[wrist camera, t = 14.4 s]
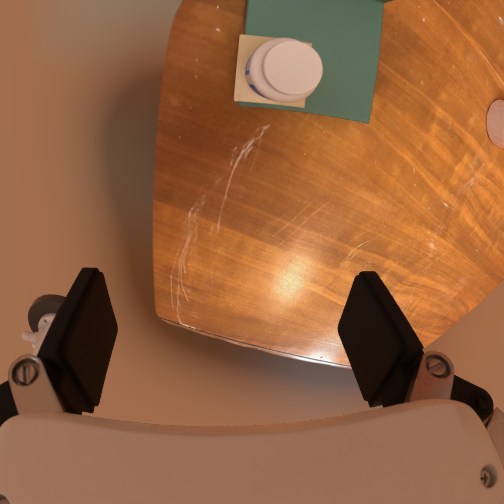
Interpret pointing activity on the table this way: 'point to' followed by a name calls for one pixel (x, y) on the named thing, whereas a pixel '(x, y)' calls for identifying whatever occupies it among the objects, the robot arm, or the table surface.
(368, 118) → the green toy chair
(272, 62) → the pill bottle
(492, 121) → the mug
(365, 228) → the table surface
